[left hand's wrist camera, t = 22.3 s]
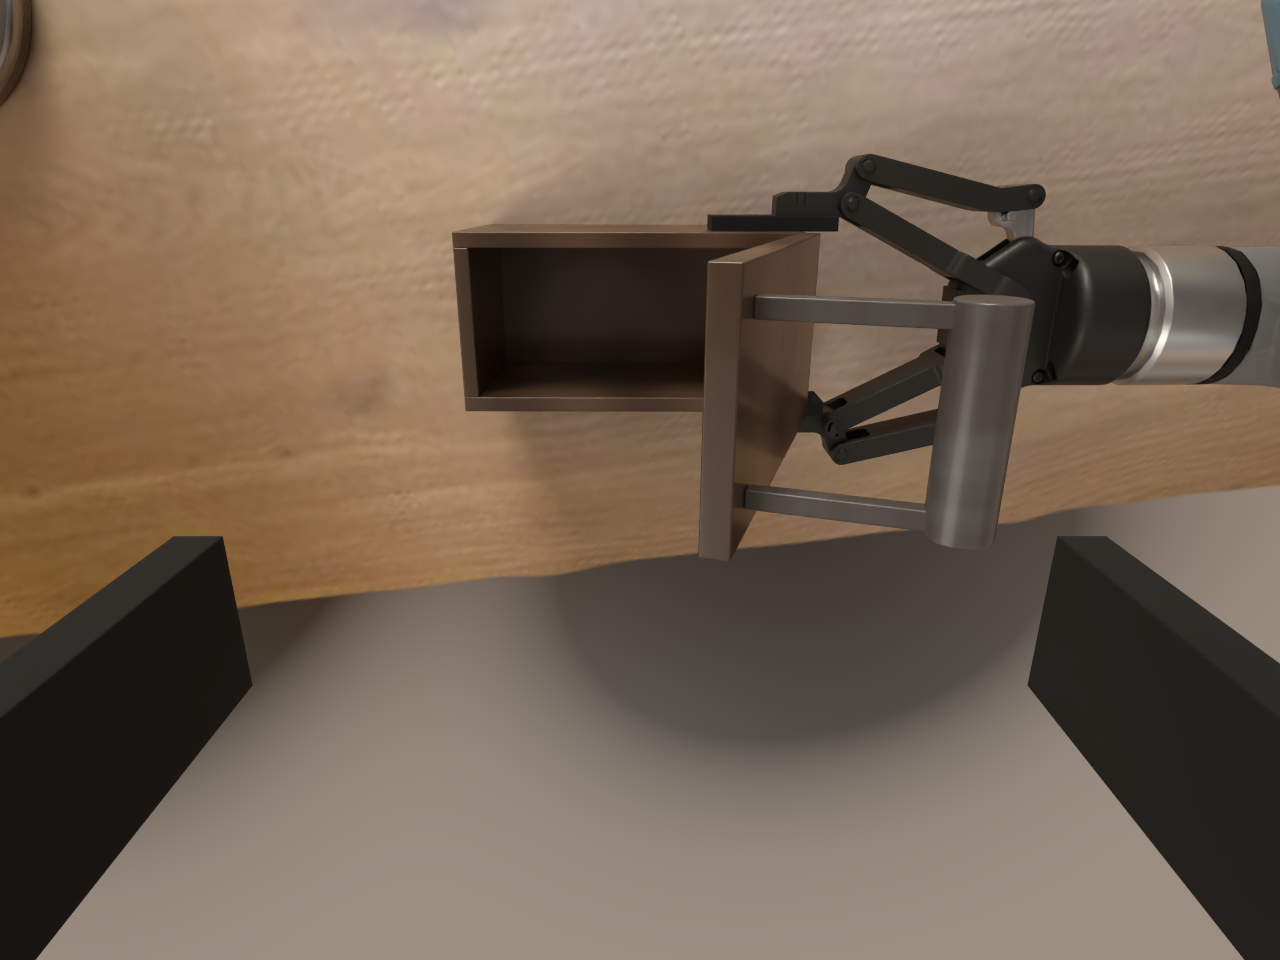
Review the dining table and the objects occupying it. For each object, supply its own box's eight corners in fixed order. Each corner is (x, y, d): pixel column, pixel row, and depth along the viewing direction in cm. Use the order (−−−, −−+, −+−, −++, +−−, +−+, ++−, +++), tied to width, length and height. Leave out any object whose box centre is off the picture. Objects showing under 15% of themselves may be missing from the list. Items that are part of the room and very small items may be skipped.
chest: (497, 371, 51) (465, 411, 42) (488, 224, 48) (451, 231, 38) (765, 371, 51) (794, 412, 42) (774, 225, 48) (807, 232, 39)
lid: (697, 558, 25) (994, 601, 22) (706, 260, 22) (1053, 270, 19) (786, 413, 41) (963, 429, 39) (799, 233, 38) (992, 236, 36)
